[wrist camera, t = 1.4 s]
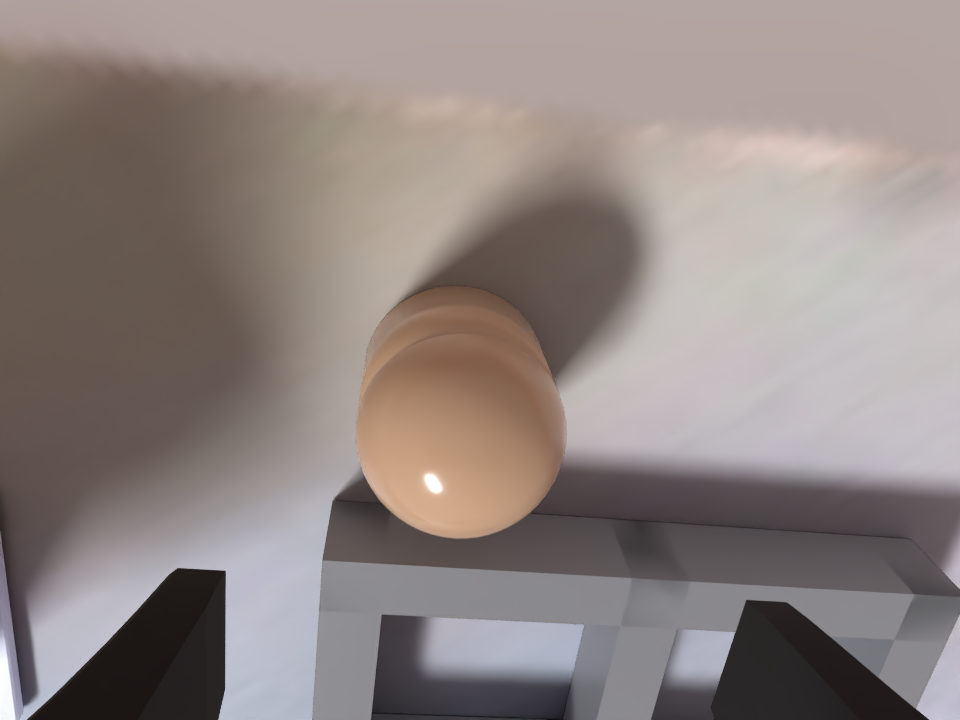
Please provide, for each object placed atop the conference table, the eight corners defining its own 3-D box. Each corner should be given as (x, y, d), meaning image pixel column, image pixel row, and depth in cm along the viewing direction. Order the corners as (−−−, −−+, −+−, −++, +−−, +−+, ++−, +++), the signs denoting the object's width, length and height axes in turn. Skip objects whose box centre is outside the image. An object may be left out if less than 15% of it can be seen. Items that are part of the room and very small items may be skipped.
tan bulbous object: (359, 441, 20) (339, 577, 15) (371, 276, 18) (355, 368, 13) (527, 454, 20) (564, 590, 15) (555, 295, 19) (606, 390, 14)
